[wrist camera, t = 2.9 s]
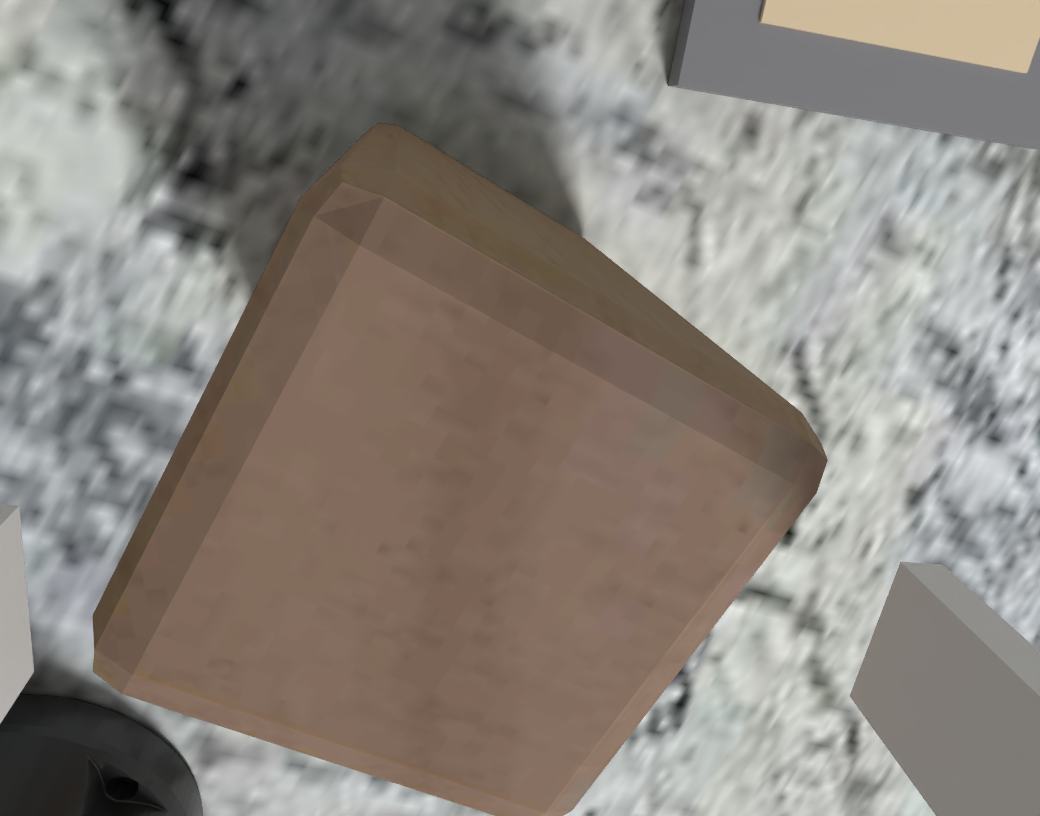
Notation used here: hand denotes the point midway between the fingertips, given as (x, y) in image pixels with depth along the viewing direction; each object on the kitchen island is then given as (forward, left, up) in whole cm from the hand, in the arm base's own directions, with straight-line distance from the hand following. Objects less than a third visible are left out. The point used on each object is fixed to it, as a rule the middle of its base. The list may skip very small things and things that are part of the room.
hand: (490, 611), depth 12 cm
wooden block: (0, 0, -21) cm, 21 cm away
